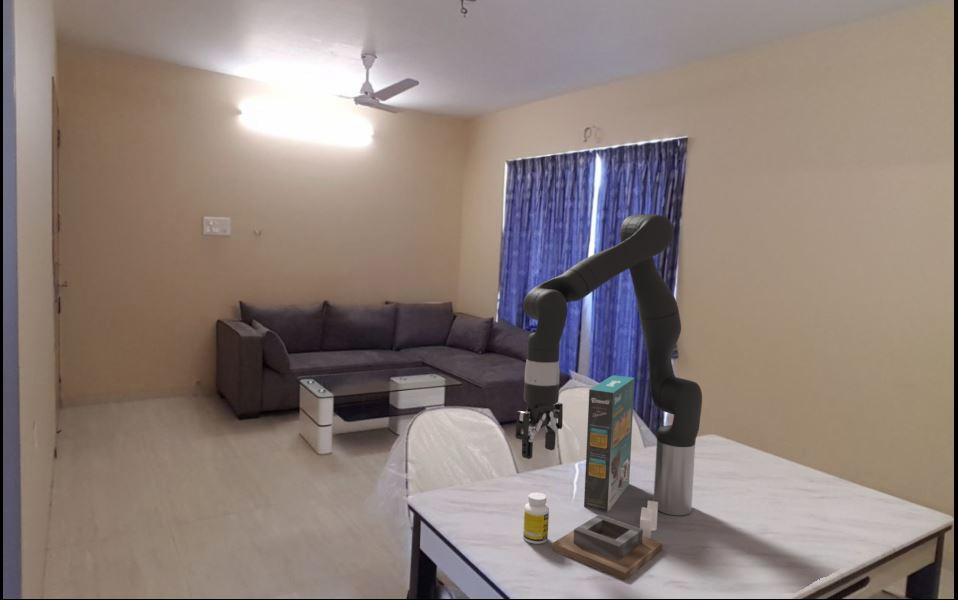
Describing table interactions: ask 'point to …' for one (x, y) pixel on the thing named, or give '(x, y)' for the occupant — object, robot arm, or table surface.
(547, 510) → the supplement bottle
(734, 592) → the table surface
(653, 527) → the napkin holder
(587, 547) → the wooden board with frame
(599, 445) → the cake mix box
